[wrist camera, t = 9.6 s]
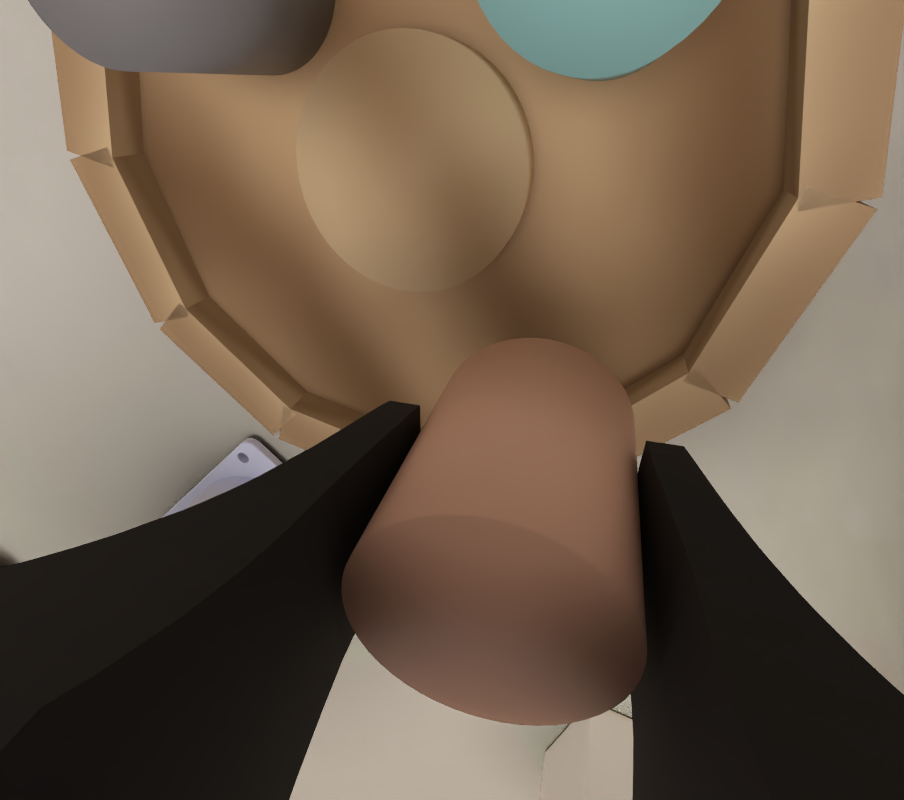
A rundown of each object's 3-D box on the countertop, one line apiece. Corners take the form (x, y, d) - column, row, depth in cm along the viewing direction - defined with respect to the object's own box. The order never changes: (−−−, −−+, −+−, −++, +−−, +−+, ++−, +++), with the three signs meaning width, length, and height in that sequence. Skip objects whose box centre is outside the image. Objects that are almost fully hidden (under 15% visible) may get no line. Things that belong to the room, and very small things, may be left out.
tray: (432, 529, 22) (416, 569, 20) (32, 142, 18) (-34, 148, 16) (1030, 196, 12) (1105, 216, 10) (429, -899, 8) (371, -1209, 6)
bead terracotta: (529, 527, 12) (485, 748, 8) (405, 412, 12) (289, 592, 8) (678, 441, 10) (721, 681, 6) (538, 295, 10) (480, 457, 5)
